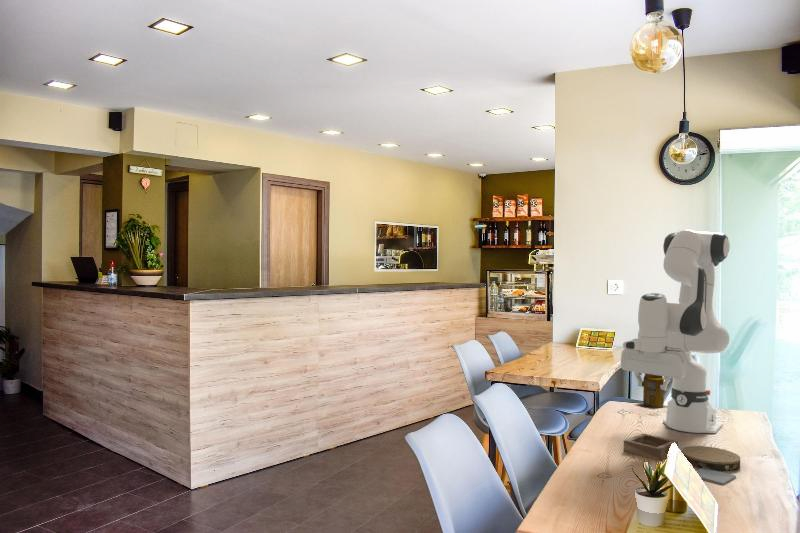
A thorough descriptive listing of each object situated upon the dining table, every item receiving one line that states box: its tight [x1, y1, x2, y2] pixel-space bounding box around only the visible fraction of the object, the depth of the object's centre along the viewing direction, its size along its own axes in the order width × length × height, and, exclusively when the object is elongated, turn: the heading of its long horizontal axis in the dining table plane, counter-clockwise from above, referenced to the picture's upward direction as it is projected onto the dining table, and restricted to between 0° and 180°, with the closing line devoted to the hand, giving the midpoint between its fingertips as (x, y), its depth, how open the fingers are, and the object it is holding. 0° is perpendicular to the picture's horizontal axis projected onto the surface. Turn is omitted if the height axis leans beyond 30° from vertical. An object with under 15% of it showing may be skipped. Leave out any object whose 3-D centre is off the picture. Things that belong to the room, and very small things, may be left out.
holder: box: [623, 433, 679, 461], centre depth 200 cm, size 13×12×4 cm
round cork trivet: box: [681, 445, 741, 473], centre depth 190 cm, size 16×16×3 cm
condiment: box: [634, 373, 670, 411], centre depth 200 cm, size 7×8×12 cm
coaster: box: [696, 467, 737, 486], centre depth 177 cm, size 9×9×1 cm
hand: (652, 388), depth 200 cm, fingers closed on condiment, 6 cm apart
